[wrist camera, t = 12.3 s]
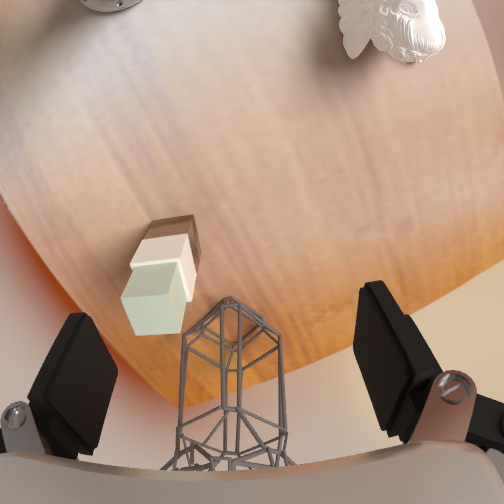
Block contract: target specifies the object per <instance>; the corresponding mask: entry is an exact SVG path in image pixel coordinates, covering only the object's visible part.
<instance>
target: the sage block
mask: <svg viewBox="0 0 504 504" xmlns="http://www.w3.org/2000/svg"><path fill="white" fill-rule="evenodd" d="M121 301H122V304H123V306H124V309H125V311H126V313H127V316H128V318H129V321H130V323H131V325H132V328H133V330H134V332H135V335H136V336H138V335H158V334H174V333H180V332H181V327H182V322H183V316H184V311H185V306H186V301H187V296H186V292H185V289H184V285H183V281H182V277H181V273H180V270H179V266H178V262H168V263H159V264H150V265H142V266H135V268H134V270H133V272H132V274H131V276H130V279H129V281H128V283H127V285H126V287H125V289H124V291H123V294H122V296H121Z"/></svg>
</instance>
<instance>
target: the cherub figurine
mask: <svg viewBox="0 0 504 504" xmlns="http://www.w3.org/2000/svg"><path fill="white" fill-rule="evenodd" d="M338 3H339V5H340V6H339V8H338V13H339V15H340V17H341V19H340V21H339V29H340V31H341V32H342V33H343V35H344V36H343V46H344V48H345V50H346V53H347V54H348V56H349V57H350V58H351V59H354V58H356V57H357V56H359V54H360V53H361V52H362V51H363V49H364V48H365V46H366V45H367V43H368V42H369V40H370V39H371V40H372V41H373V45H374V46H375V47H376V48H377V49H378V50H380V51H383V52H387V53H388V54H389V55H390V56H391V57H392V58H394V59H396V60H398V61H400V62H414V61H415V62H417V63H421V61H422V60H424V59H427V58H429V57H431V56H433V55H435V54H437V53H438V52H439V51H440V50H441V49H442V48H443V47H444V44H445V31H444V27H443V24H442V23H441V22H440V19H439V15H438V9H437V5H436V3H435V1H434V0H338Z"/></svg>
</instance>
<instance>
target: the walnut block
mask: <svg viewBox="0 0 504 504" xmlns="http://www.w3.org/2000/svg"><path fill="white" fill-rule="evenodd" d="M180 234H188V239H189V243H190V248H191V252H192V256H193V261H194V265H195V269H196V273H197V272H198V266H199V261H200V256H201V248H200V243H199V239H198V234H197V229H196V224H195V219H194V215H187V216H180V217H173V218H166V219H160V220H153V222H152V224H151V226H150V227H149V229H148V231H147V233H146V235H145V236H144V238H143V240H144V239H151V238H158V237H165V236H172V235H180Z"/></svg>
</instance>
